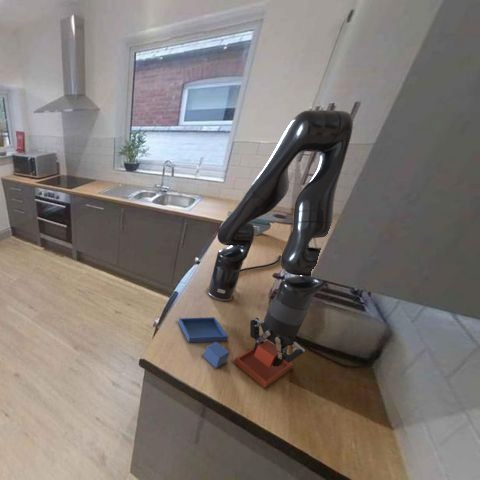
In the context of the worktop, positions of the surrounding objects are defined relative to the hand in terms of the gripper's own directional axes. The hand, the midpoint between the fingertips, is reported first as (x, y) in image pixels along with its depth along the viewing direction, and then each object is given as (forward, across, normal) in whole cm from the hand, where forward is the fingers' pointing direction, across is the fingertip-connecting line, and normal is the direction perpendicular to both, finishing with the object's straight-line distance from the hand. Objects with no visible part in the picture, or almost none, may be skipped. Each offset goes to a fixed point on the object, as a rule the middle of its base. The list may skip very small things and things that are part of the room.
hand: (266, 357), depth 76 cm
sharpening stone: (+3, +65, -92) cm, 113 cm away
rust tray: (+4, 0, 0) cm, 4 cm away
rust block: (0, 0, 0) cm, 0 cm away
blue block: (+4, +8, +11) cm, 14 cm away
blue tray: (+4, +18, +5) cm, 19 cm away
